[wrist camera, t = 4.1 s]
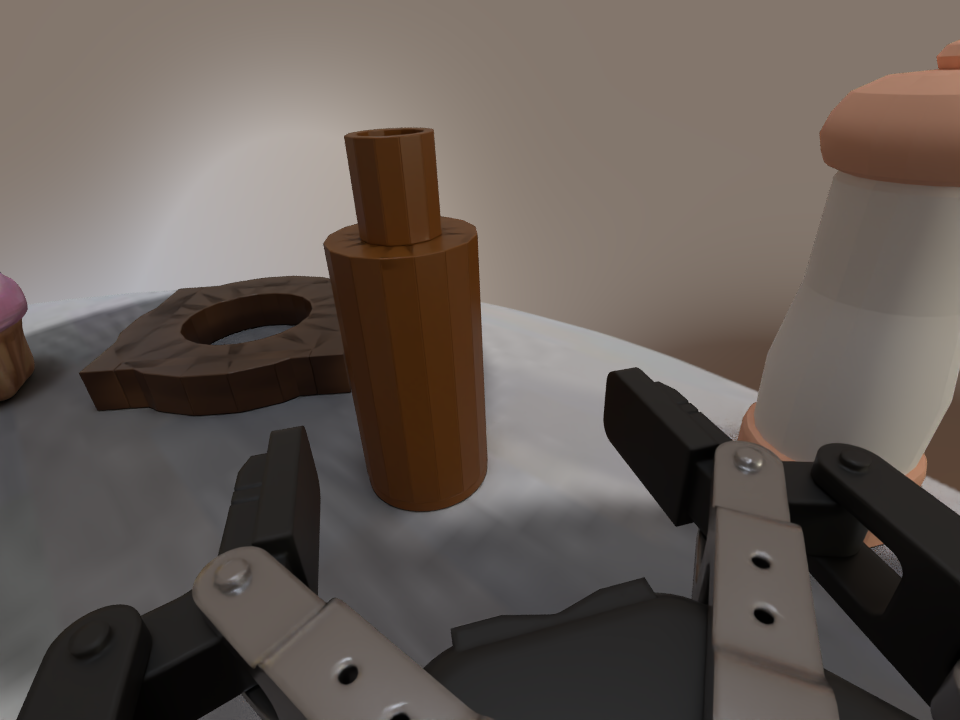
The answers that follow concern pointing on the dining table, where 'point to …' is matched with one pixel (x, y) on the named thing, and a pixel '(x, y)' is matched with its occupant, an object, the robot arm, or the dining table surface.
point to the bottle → (410, 324)
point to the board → (225, 350)
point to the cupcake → (13, 339)
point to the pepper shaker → (875, 283)
